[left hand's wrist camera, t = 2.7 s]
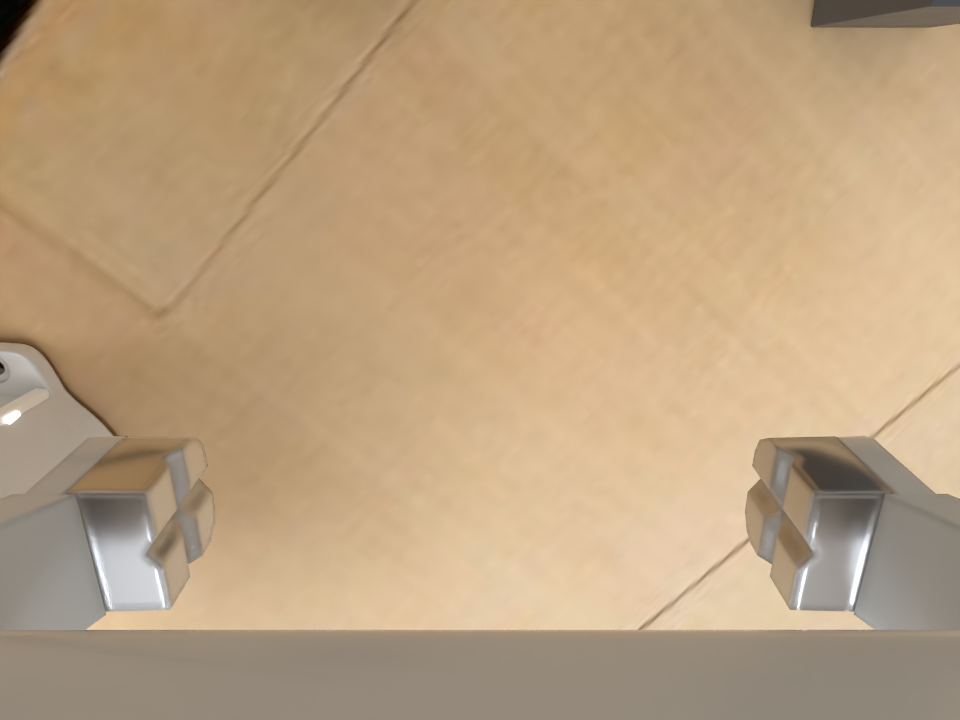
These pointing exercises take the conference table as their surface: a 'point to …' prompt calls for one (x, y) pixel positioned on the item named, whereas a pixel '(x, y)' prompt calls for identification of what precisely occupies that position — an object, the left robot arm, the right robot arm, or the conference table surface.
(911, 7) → the bar
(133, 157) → the conference table surface
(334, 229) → the conference table surface
